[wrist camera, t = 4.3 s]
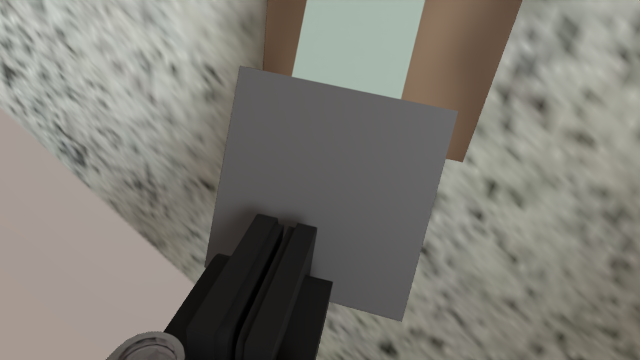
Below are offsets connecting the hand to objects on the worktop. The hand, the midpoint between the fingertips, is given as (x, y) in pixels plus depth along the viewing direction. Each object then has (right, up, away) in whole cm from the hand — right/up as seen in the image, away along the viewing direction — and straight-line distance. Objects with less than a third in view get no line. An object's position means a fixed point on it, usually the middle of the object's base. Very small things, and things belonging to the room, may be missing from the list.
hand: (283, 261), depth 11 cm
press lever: (+3, +8, +1) cm, 9 cm away
